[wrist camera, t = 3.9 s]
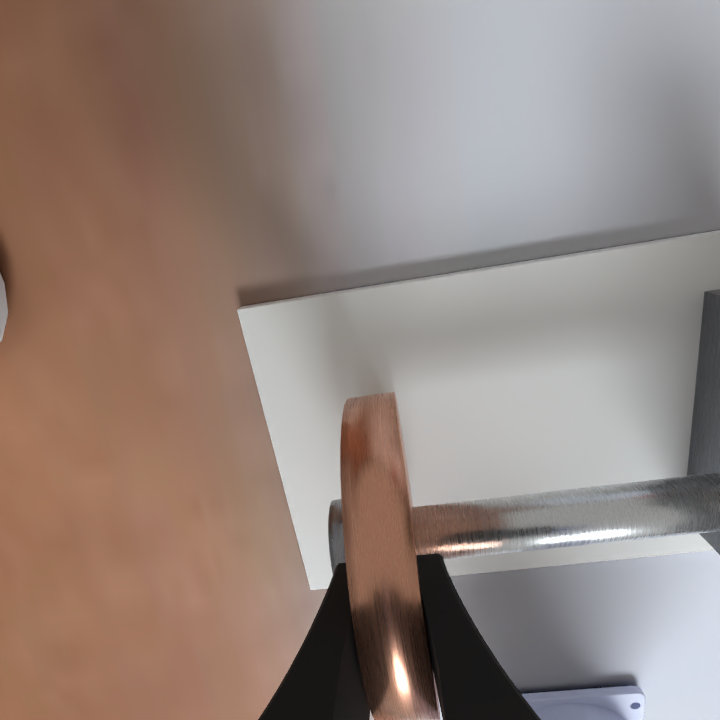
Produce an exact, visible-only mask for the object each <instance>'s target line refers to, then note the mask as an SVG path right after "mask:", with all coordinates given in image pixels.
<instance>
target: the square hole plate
mask: <svg viewBox="0 0 720 720" xmlns="http://www.w3.org/2000/svg"><path fill="white" fill-rule="evenodd" d="M717 472H720V289H718V290H711V291H704V301H703V312H702V322H701V333H700V343H699V354H698V364H697V375H696V385H695V396H694V406H693V417H692V427H691V438H690V448H689V459H688V469H687V476H690V475H699V474H708V473H717ZM699 534H700V535H701V536H702V537H703V538H704V539H705V540H706V541H707V542H708V543H709V544H710V545H711V546H712V547H713V548H714V549H715V550H716V551H717V552H718V553H719V554H720V531H717V532H707V533H699Z"/></svg>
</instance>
